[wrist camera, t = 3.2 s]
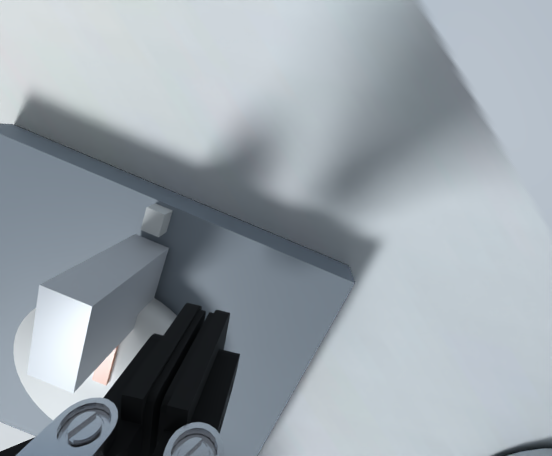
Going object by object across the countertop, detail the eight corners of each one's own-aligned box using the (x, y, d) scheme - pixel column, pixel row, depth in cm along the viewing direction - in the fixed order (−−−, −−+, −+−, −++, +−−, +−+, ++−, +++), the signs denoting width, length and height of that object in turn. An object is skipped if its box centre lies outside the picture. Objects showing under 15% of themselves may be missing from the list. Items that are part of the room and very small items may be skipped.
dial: (176, 445, 18) (126, 561, 13) (30, 386, 18) (-77, 480, 13) (245, 279, 14) (211, 355, 9) (57, 201, 14) (-83, 234, 9)
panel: (349, 265, 16) (357, 291, 13) (232, 480, 22) (221, 527, 19) (13, 124, 15) (-50, 120, 13) (-9, 382, 21) (-54, 416, 19)
